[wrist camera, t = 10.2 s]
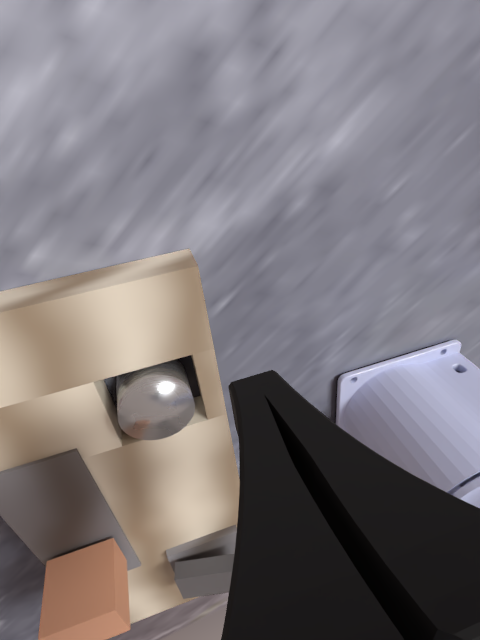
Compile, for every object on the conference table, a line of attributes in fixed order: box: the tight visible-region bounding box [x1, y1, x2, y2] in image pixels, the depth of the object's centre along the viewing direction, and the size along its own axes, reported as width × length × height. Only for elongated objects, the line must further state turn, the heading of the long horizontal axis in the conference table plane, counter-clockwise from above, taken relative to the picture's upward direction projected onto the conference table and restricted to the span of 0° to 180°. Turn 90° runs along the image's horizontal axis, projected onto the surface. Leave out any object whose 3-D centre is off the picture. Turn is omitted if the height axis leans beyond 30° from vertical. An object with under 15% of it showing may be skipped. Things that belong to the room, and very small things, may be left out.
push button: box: [116, 359, 195, 440], centre depth 20 cm, size 4×4×2 cm
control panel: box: [0, 249, 240, 624], centre depth 25 cm, size 13×30×2 cm, turn 7°
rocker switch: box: [174, 554, 234, 599], centre depth 28 cm, size 4×3×1 cm
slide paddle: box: [38, 538, 130, 640], centre depth 23 cm, size 4×3×4 cm
